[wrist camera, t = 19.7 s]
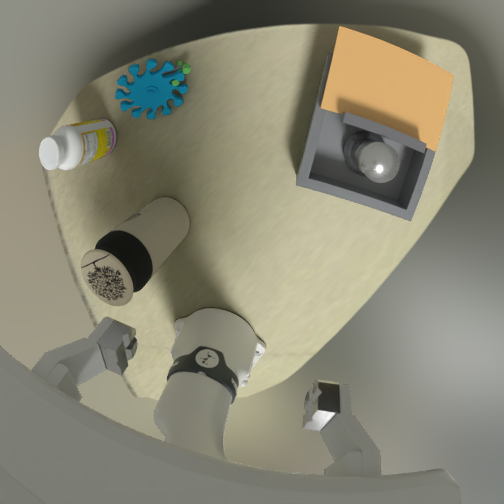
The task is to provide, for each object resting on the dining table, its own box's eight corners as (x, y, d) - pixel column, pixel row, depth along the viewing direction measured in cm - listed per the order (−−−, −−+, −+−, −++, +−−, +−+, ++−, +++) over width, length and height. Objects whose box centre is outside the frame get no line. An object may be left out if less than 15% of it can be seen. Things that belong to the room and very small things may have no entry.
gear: (139, 132, 36) (99, 89, 27) (141, 109, 38) (107, 69, 29) (207, 99, 34) (175, 46, 25) (202, 79, 36) (174, 31, 27)
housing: (399, 208, 37) (410, 221, 32) (296, 176, 37) (295, 185, 33) (432, 102, 28) (448, 102, 24) (325, 60, 29) (328, 52, 25)
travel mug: (197, 237, 45) (145, 306, 29) (157, 245, 47) (98, 309, 31) (181, 191, 41) (113, 242, 26) (140, 203, 43) (69, 254, 28)
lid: (431, 157, 28) (440, 161, 25) (318, 115, 28) (320, 115, 26) (450, 75, 22) (461, 74, 19) (338, 27, 23) (341, 20, 20)
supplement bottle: (83, 138, 39) (29, 154, 28) (103, 110, 36) (46, 119, 25) (103, 164, 41) (51, 186, 30) (124, 137, 38) (70, 152, 27)
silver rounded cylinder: (390, 139, 32) (412, 146, 25) (378, 180, 34) (396, 196, 27) (349, 125, 32) (362, 127, 25) (338, 167, 35) (347, 180, 28)
